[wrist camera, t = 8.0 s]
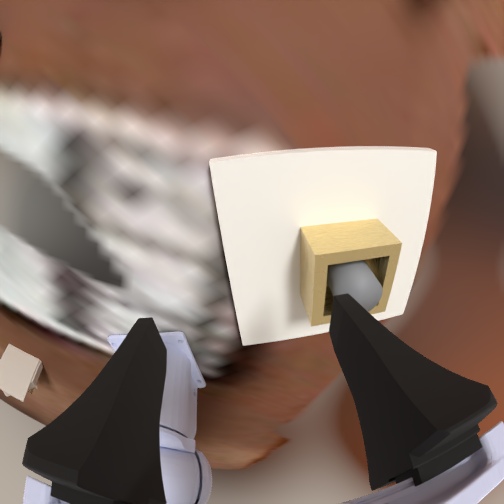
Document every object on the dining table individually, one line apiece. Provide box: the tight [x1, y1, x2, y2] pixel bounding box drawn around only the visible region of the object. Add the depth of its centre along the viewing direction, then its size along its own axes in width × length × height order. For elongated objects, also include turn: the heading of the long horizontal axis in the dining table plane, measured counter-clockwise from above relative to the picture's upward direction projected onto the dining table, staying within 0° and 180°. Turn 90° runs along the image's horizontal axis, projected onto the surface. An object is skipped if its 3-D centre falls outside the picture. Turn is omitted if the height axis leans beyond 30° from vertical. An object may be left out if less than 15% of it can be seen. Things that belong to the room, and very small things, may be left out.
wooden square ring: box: [300, 219, 402, 327], centre depth 18 cm, size 6×6×4 cm
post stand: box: [209, 146, 437, 346], centre depth 18 cm, size 16×16×6 cm
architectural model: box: [0, 344, 43, 402], centre depth 23 cm, size 3×7×7 cm, turn 65°
